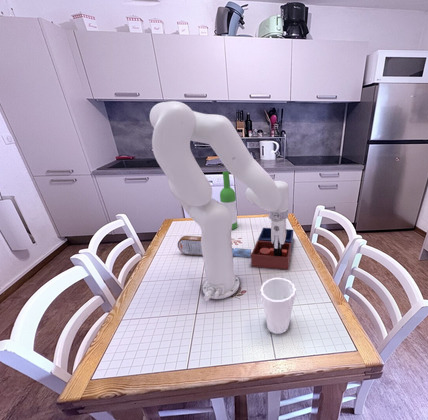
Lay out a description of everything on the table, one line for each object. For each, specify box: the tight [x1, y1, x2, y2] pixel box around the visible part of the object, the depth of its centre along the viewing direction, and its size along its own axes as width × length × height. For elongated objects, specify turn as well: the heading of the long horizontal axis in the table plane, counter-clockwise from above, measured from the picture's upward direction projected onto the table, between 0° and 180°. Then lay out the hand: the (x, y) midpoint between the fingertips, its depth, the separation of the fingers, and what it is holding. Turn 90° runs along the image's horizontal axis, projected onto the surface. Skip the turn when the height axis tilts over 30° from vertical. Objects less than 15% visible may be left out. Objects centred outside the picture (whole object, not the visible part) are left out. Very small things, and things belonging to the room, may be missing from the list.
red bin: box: [250, 240, 292, 271], centre depth 97 cm, size 11×15×6 cm
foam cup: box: [260, 277, 297, 335], centre depth 66 cm, size 10×9×13 cm
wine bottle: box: [219, 170, 238, 230], centre depth 120 cm, size 8×8×30 cm
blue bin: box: [257, 227, 294, 251], centre depth 108 cm, size 11×15×6 cm
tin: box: [177, 235, 203, 257], centre depth 100 cm, size 15×3×8 cm, turn 84°
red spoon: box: [260, 248, 287, 257], centre depth 97 cm, size 11×4×3 cm, turn 82°
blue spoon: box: [232, 247, 252, 258], centre depth 101 cm, size 11×4×3 cm, turn 82°
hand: (278, 254), depth 97 cm, fingers closed on red spoon, 2 cm apart
